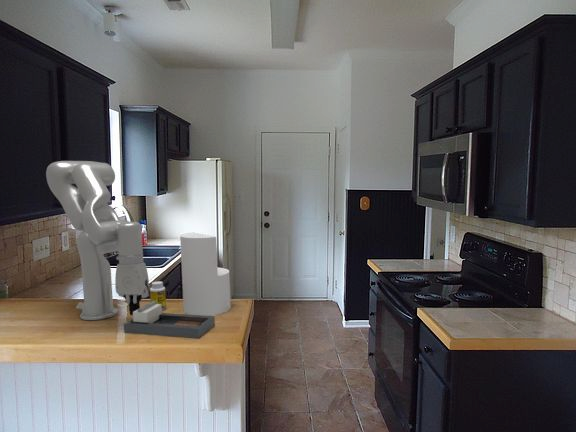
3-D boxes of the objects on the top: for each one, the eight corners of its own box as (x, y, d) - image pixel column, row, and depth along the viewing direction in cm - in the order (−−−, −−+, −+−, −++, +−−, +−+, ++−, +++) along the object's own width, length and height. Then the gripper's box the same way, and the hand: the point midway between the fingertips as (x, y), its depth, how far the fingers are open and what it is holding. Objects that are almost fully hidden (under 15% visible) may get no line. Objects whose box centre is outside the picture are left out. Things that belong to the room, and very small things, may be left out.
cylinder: (197, 319, 149) (193, 239, 146) (175, 308, 162) (172, 234, 159) (239, 308, 160) (236, 234, 157) (215, 299, 173) (213, 230, 170)
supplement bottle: (158, 312, 158) (157, 285, 157) (147, 310, 160) (146, 283, 159) (169, 308, 162) (168, 281, 161) (158, 306, 165) (157, 280, 164)
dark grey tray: (124, 332, 138) (123, 323, 137) (145, 320, 149) (144, 311, 149) (198, 338, 131) (198, 328, 131) (214, 324, 143) (214, 316, 143)
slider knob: (133, 326, 138) (132, 308, 138) (149, 317, 147) (148, 300, 146) (147, 327, 137) (146, 309, 137) (162, 317, 146) (161, 301, 145)
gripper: (104, 261, 139) (108, 316, 141) (144, 262, 136) (148, 318, 137) (118, 257, 147) (122, 309, 148) (157, 257, 143) (160, 311, 145)
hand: (134, 313), depth 143 cm, fingers closed
